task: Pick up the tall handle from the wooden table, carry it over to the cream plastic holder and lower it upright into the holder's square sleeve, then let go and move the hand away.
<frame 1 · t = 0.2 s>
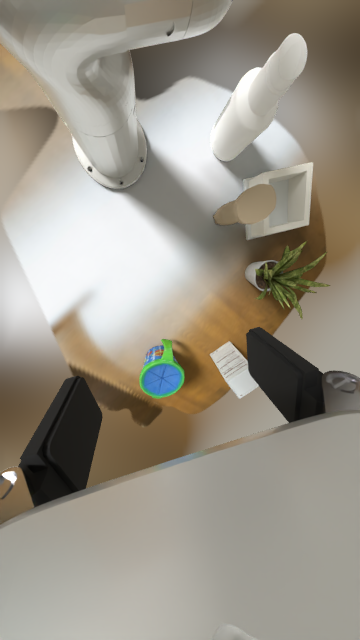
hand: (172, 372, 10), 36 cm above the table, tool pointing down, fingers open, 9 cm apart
snack cup: (159, 356, 52), on the table
spray bottle: (225, 141, 37), on the table
supplement box: (224, 354, 57), on the table
house plant: (257, 275, 49), on the table
holder: (268, 206, 42), on the table
handle: (219, 217, 42), on the table
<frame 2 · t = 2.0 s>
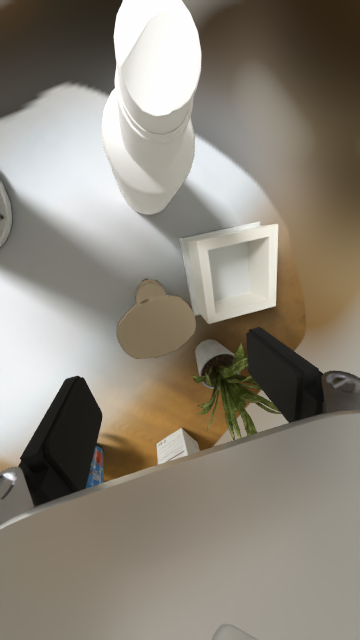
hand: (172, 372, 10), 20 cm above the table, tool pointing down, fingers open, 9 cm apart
snack cup: (85, 452, 39), on the table
spray bottle: (146, 184, 24), on the table
supplement box: (177, 441, 44), on the table
house plant: (212, 353, 36), on the table
holder: (222, 271, 30), on the table
handle: (149, 288, 29), on the table
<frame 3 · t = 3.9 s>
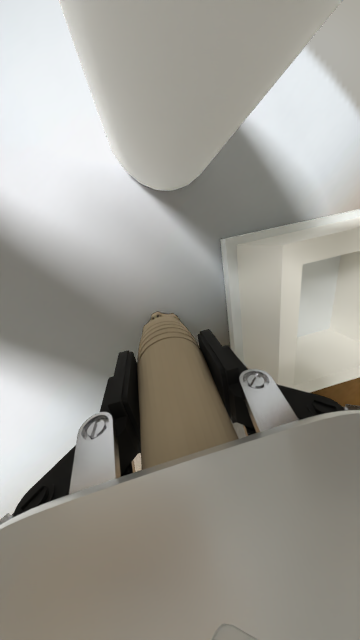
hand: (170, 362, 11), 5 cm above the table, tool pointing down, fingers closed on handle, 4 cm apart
spray bottle: (161, 127, 11), on the table
holder: (287, 294, 17), on the table
handle: (162, 325, 16), on the table, touching gripper
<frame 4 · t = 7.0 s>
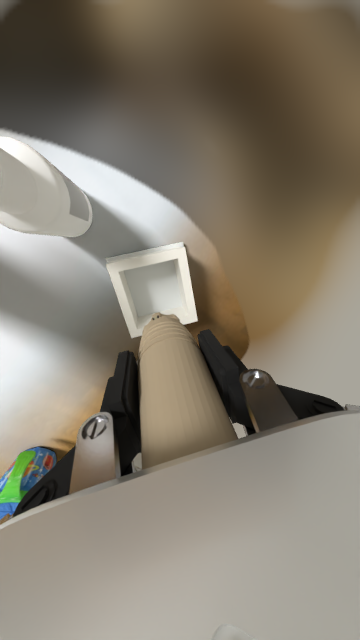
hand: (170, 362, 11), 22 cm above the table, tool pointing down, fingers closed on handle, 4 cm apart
snack cup: (39, 456, 41), on the table
spray bottle: (67, 210, 26), on the table
holder: (154, 286, 31), on the table
handle: (162, 326, 16), point 17 cm above the table, touching gripper
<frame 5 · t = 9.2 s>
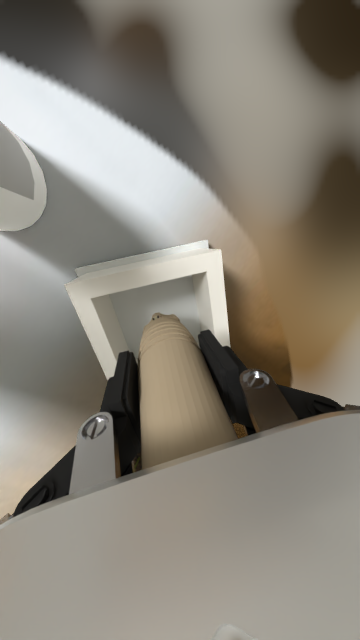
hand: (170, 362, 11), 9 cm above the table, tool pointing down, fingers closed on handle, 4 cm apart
holder: (158, 311, 20), on the table
handle: (162, 326, 16), point 4 cm above the table, touching gripper
when the fingers open (8 cm above the table, at t = 9.9 s): handle drops 1 cm, resting on holder.
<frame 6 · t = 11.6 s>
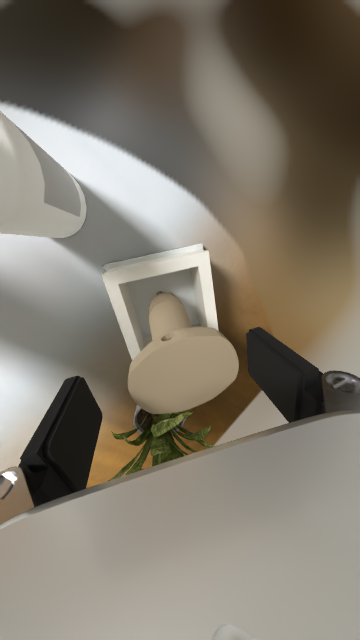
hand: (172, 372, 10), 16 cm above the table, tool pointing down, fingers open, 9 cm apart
spray bottle: (54, 203, 20), on the table
house plant: (164, 389, 31), on the table
holder: (164, 299, 25), on the table
handle: (163, 301, 24), point 1 cm above the table, touching holder
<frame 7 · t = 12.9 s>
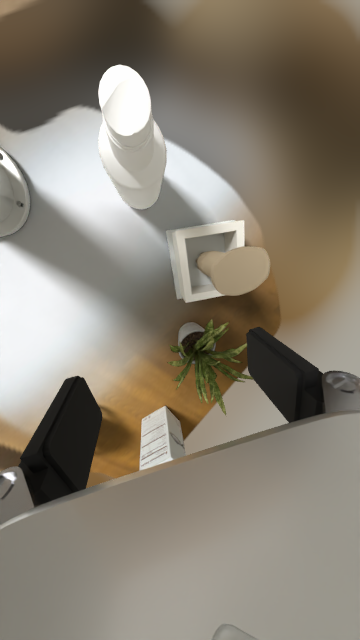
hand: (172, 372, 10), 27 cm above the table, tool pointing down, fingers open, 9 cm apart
spray bottle: (138, 185, 29), on the table
supplement box: (161, 419, 48), on the table
house plant: (194, 336, 40), on the table
holder: (203, 261, 35), on the table
handle: (203, 261, 34), point 1 cm above the table, touching holder
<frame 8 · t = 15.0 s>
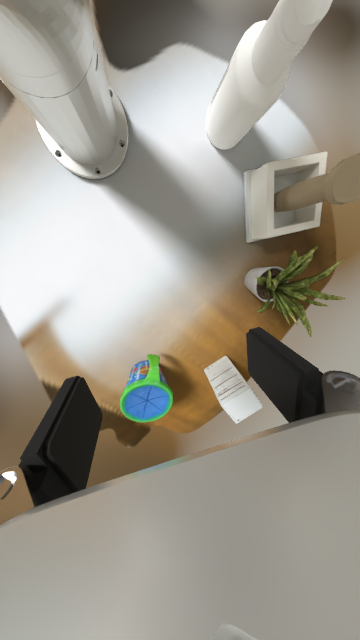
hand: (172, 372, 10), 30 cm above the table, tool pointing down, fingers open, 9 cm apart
snack cup: (146, 371, 47), on the table
spray bottle: (223, 125, 31), on the table
supplement box: (220, 369, 51), on the table
house plant: (258, 282, 43), on the table
holder: (273, 204, 37), on the table
handle: (275, 203, 36), point 1 cm above the table, touching holder
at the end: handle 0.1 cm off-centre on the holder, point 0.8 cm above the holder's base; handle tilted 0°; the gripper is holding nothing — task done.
